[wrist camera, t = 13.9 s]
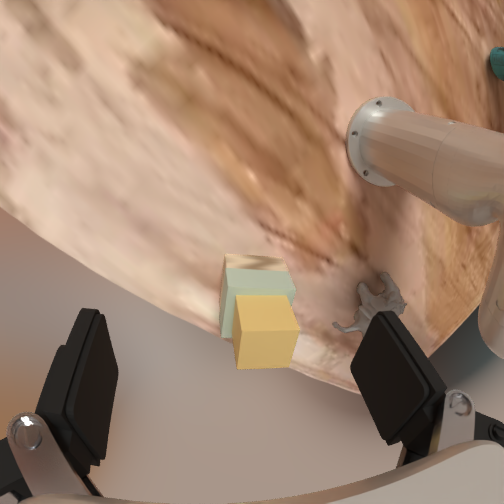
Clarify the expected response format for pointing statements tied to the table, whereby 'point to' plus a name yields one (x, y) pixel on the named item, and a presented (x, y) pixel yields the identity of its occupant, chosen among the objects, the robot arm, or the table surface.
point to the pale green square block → (250, 290)
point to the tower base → (252, 264)
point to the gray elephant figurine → (375, 304)
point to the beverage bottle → (497, 61)
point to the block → (263, 331)
